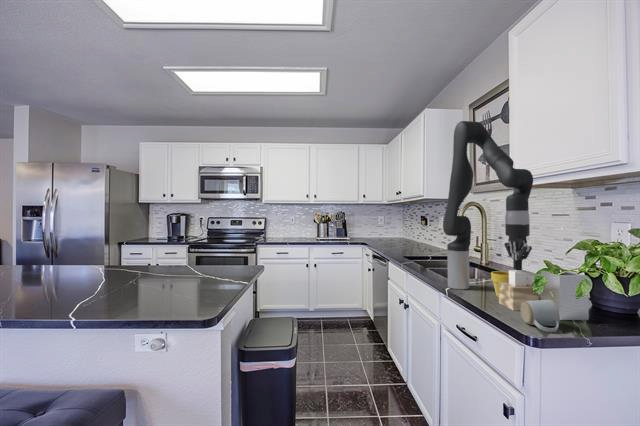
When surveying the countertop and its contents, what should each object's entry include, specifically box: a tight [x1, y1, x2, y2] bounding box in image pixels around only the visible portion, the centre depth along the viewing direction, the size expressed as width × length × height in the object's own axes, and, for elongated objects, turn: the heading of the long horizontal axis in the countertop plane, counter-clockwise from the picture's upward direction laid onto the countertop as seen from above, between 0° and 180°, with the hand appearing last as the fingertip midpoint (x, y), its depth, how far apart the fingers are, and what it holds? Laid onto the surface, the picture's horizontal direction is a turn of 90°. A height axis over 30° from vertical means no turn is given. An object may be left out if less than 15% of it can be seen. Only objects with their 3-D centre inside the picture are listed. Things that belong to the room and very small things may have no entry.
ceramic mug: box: [519, 299, 561, 333], centre depth 95 cm, size 11×8×8 cm
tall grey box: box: [539, 270, 590, 321], centre depth 105 cm, size 9×9×14 cm
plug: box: [508, 269, 528, 287], centre depth 115 cm, size 4×5×9 cm
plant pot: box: [490, 270, 509, 298], centre depth 128 cm, size 10×10×10 cm
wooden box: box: [498, 282, 540, 311], centre depth 115 cm, size 9×9×8 cm
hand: (517, 269), depth 115 cm, fingers closed
